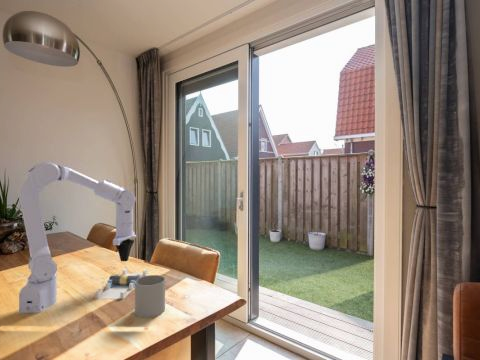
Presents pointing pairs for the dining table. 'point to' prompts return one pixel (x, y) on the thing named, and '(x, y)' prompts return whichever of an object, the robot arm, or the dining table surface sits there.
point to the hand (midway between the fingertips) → (124, 260)
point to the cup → (149, 296)
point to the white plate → (118, 287)
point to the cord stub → (123, 279)
